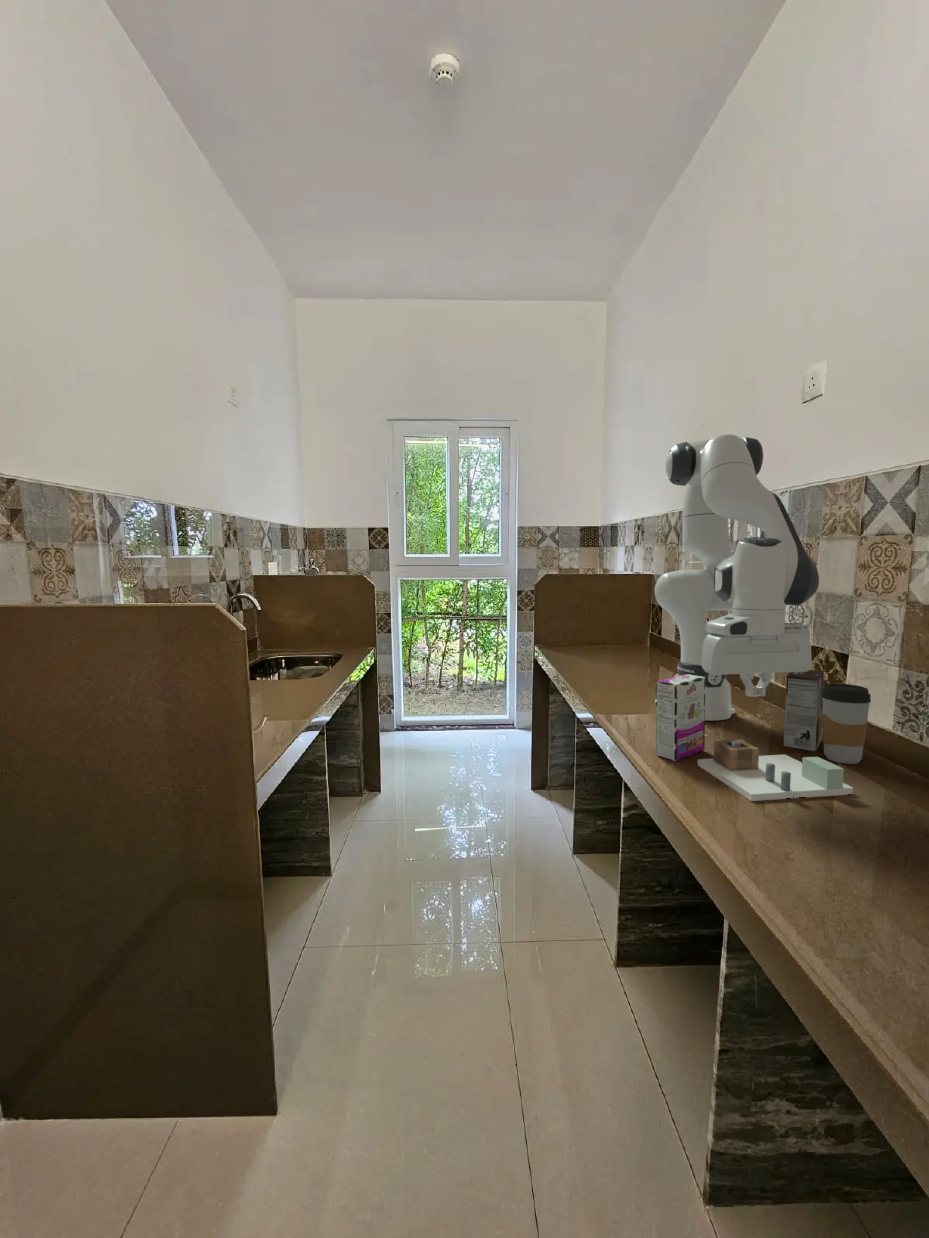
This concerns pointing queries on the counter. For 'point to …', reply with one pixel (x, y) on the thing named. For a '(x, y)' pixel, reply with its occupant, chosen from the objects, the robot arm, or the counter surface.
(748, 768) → the wooden square block
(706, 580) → the robot arm
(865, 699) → the coffee cup
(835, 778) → the block
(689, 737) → the candy bar box
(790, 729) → the coffee box
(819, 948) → the counter surface
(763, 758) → the base plate
